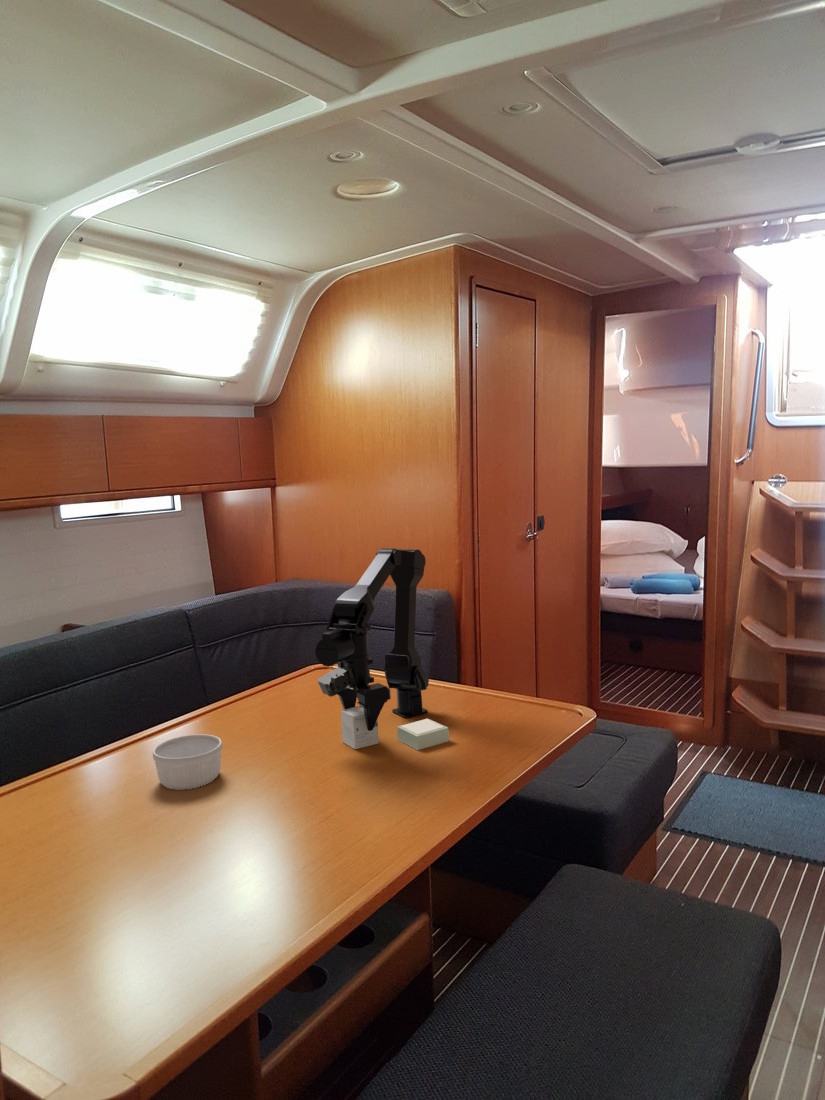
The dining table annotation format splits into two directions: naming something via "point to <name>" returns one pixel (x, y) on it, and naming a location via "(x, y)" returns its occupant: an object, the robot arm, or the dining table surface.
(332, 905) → the dining table surface
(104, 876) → the dining table surface
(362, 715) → the skincare box
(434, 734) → the base block
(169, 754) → the ramekin
